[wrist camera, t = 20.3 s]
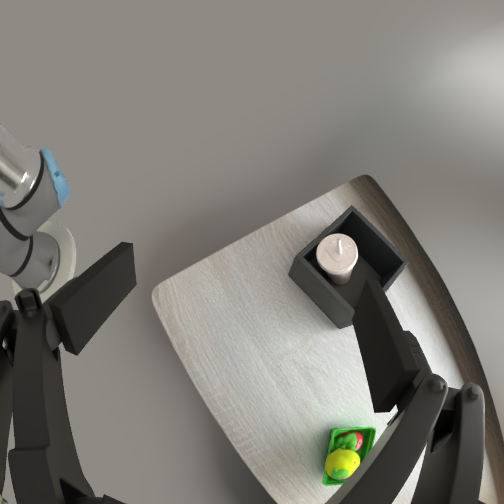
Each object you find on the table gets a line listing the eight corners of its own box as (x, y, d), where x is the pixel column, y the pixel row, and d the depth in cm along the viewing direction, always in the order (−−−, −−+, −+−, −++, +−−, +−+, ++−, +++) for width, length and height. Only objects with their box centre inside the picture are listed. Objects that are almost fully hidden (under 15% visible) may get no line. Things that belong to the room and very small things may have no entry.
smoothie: (348, 298, 45) (346, 266, 34) (316, 283, 48) (303, 249, 37) (363, 266, 47) (364, 226, 35) (332, 254, 50) (323, 212, 38)
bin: (287, 274, 49) (295, 256, 40) (336, 229, 52) (351, 204, 43) (339, 329, 46) (359, 322, 36) (384, 278, 49) (409, 262, 39)
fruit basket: (354, 472, 35) (377, 496, 25) (309, 475, 36) (322, 502, 25) (365, 420, 39) (393, 434, 29) (319, 421, 40) (337, 439, 29)
